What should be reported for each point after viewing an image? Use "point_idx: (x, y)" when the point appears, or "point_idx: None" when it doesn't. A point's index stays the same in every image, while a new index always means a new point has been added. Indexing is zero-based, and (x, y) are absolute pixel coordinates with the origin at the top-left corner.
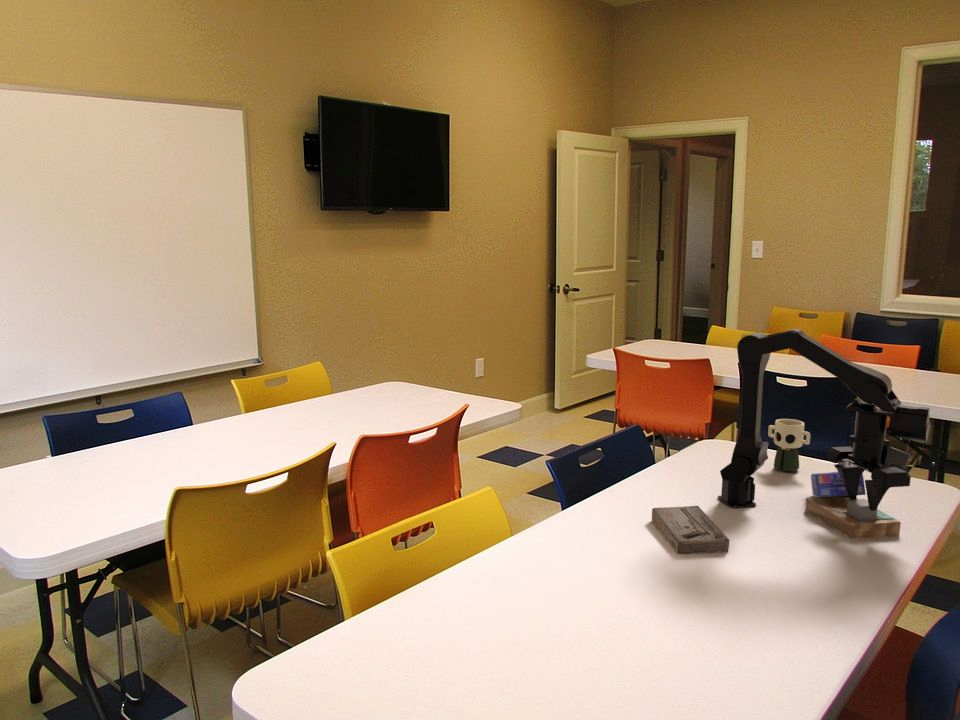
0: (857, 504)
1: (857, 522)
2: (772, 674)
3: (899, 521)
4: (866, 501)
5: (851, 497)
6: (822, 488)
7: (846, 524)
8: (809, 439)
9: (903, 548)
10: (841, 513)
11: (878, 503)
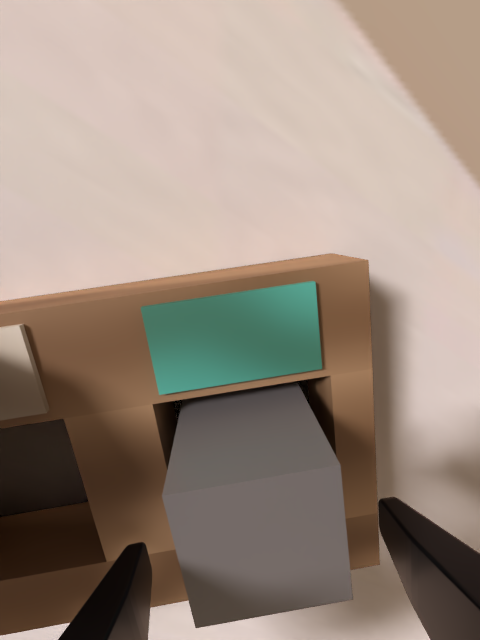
0: (305, 604)
1: (347, 529)
2: None
3: (362, 266)
4: (232, 508)
5: (150, 599)
6: None
7: None
8: None
9: (477, 325)
10: None
11: (461, 551)
